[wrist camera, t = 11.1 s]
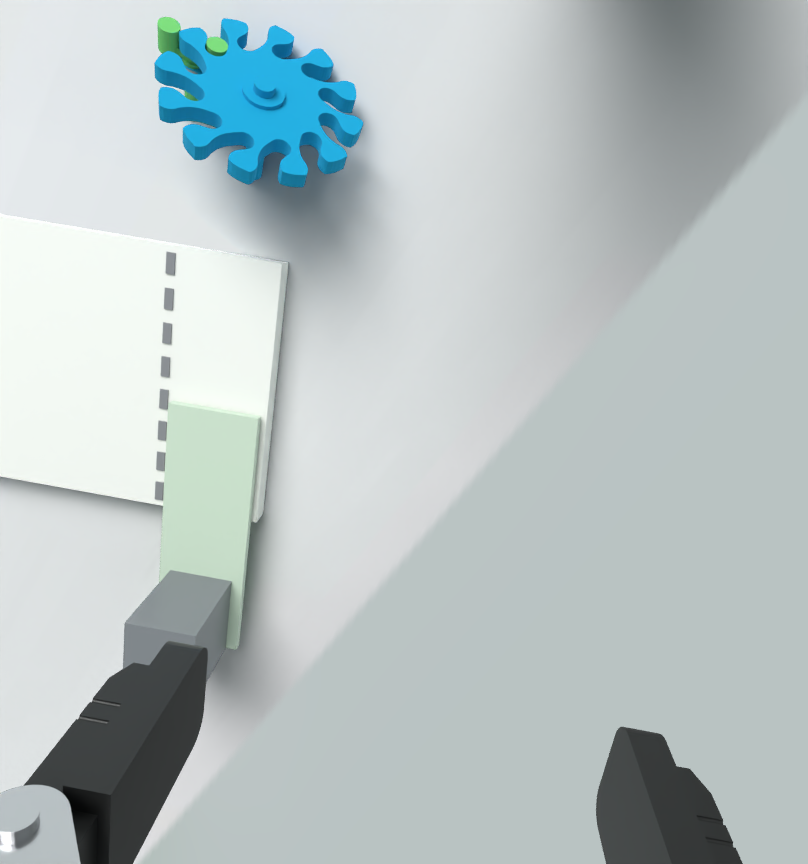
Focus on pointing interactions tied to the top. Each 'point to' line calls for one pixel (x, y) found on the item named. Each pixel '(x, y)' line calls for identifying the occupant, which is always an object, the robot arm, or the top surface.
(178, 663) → the robot arm
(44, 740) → the top surface
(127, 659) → the stub
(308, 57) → the gear
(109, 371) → the ticket board
